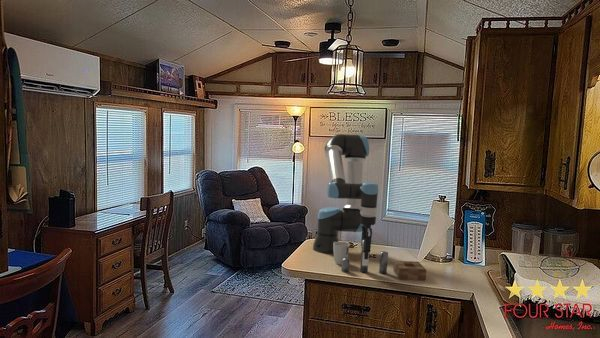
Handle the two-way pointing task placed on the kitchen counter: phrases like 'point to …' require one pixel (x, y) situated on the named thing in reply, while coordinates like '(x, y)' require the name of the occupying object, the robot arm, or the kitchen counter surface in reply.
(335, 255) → the cup
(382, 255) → the pin medium
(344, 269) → the pin short
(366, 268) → the pin long
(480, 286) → the kitchen counter surface
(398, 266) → the hole block
